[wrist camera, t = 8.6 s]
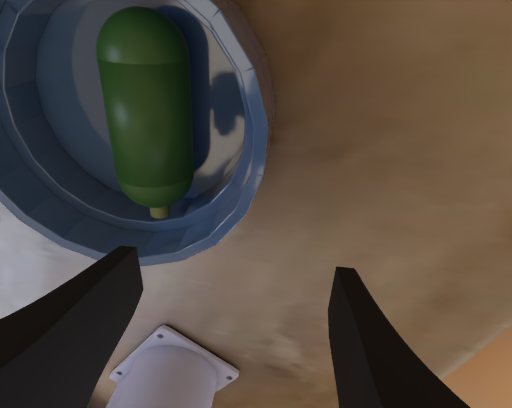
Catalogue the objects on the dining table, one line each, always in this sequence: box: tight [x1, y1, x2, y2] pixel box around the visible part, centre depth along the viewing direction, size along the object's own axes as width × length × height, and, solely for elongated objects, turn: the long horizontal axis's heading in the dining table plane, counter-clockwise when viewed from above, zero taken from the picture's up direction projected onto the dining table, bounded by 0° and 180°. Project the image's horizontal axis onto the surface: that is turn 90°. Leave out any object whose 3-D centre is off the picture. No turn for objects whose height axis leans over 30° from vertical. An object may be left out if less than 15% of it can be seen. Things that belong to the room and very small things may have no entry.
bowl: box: [0, 0, 275, 266], centre depth 17 cm, size 14×14×5 cm
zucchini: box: [96, 6, 194, 219], centre depth 18 cm, size 10×4×4 cm
